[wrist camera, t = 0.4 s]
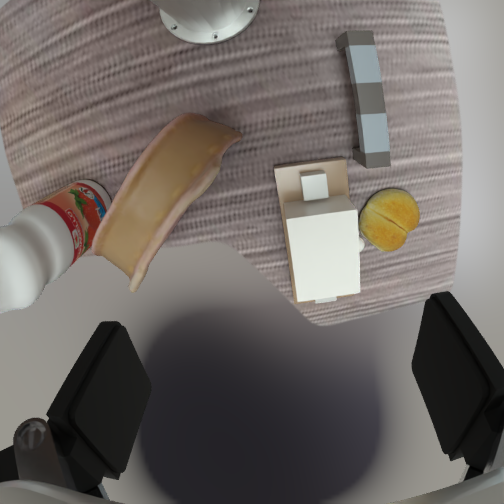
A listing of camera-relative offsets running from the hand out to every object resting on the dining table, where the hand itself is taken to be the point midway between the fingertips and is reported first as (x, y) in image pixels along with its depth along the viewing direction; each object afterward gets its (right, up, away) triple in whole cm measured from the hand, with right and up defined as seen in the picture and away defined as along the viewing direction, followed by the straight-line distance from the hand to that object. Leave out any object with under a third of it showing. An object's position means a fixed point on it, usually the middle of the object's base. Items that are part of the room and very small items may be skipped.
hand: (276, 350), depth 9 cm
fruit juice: (-25, +10, +35) cm, 44 cm away
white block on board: (+8, +6, +35) cm, 36 cm away
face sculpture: (-10, +13, +33) cm, 36 cm away
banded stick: (+13, +22, +27) cm, 37 cm away
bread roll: (+18, +8, +34) cm, 39 cm away
